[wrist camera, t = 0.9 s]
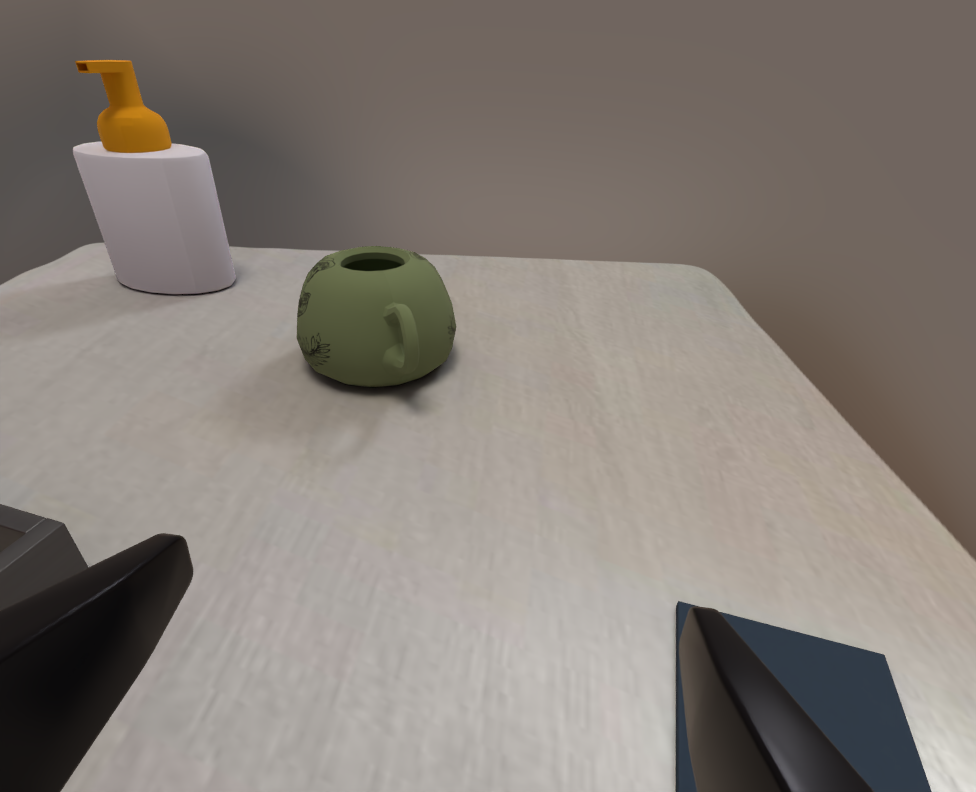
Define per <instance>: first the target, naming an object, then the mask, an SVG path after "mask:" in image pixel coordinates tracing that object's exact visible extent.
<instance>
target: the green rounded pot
mask: <svg viewBox="0 0 976 792" xmlns="http://www.w3.org/2000/svg"><path fill="white" fill-rule="evenodd" d="M455 331H456V323H455V317H454V312H453V307H452V302H451V300H450V297H449V295H448V292H447V290H446V288H445V285H444V283H443V281H442V279H441V277H440V275H439V273H438V272H437V270H436V268H435V267H434V266H433V265H432V264H431V263H430V262H429V261H428V260H427V259H425V258H424V257H422V256H420V255H418V254H417V253H415V252H411V251H407V250H403V249H399V248H391V247H381V246H371V247H359V248H353V249H347V250H342V251H339V252H336V253H333V254H330V255H327V256H325V257H324V258H323V259H322V260H320V261H319V262H318V263H317V264H316V265H315V266H314V267H313V268H312V269H311V270H310V272H309V273H308V275H307V277H306V279H305V282H304V284H303V287H302V291H301V295H300V299H299V305H298V316H297V340H298V343H299V345H300V348H301V350H302V353H303V355H304V358H305V360H306V361H307V362H308V363H309V364H310V365H311V366H312V367H313V369H314V370H315V371H316V372H318V373H321V374H323V375H325V376H328V377H330V378H333V379H335V380H337V381H340V382H342V383H345V384H348V385H356V386H365V387H381V386H392V385H400V384H403V383H406V382H409V381H412V380H415V379H418V378H421V377H423V376H424V375H426V374H428V373H429V372H431V371H432V370H433V369H435V368H436V367H438V366H439V365H441V364H442V363H444V362H445V361H446V360H447V358H448V355H449V353H450V351H451V349H452V345H453V340H454V336H455Z"/></svg>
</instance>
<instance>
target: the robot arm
mask: <svg viewBox="0 0 976 792" xmlns="http://www.w3.org/2000/svg"><path fill="white" fill-rule="evenodd" d="M192 577H193V566H192V562H191V558H190V554H189V550H188V546H187V542H186V540H185V539H184V538H183V537H182V536H180V535H173V534H165V533H162V534H157V535H155V536H153V537H151V538H149V539H147V540H145V541H143V542H141V543H138V544H136V545H134V546H132V547H130V548H128V549H126V550H124V551H122V552H120V553H118V554H116V555H114V556H112V557H110V558H107V559H105V560H103V561H101V562H99V563H97V564H95V565H93V566H91V567H89V568H87V569H85V570H83V571H81V572H79V573H76V574H74V575H72V576H70V577H68V578H66V579H64V580H62V581H60V582H58V583H56V584H54V585H52V586H50V587H47V588H45V589H43V590H41V591H39V592H37V593H35V594H33V595H31V596H29V597H27V598H25V599H23V600H21V601H18V602H16V603H14V604H12V605H10V606H8V607H6V608H4V609H2V610H0V792H60V791H61V790H62V789H63V787H64V786H65V784H66V783H67V781H68V780H69V778H70V777H71V775H72V774H73V772H74V771H75V769H76V768H77V766H78V765H79V763H80V762H81V760H82V759H83V757H84V756H85V754H86V753H87V751H88V750H89V748H90V747H91V745H92V744H93V742H94V741H95V739H96V738H97V736H98V735H99V733H100V732H101V730H102V729H103V727H104V726H105V724H106V723H107V721H108V720H109V718H110V717H111V715H112V714H113V713H114V711H115V710H116V708H117V707H118V705H119V704H120V702H121V701H122V699H123V698H124V696H125V695H126V693H127V692H128V690H129V689H130V687H131V686H132V684H133V683H134V681H135V680H136V678H137V677H138V675H139V674H140V672H141V671H142V669H143V667H144V666H145V664H146V663H147V661H148V659H149V658H150V656H151V654H152V653H153V651H154V649H155V647H156V645H157V644H158V642H159V640H160V638H161V636H162V634H163V633H164V631H165V629H166V627H167V625H168V623H169V622H170V620H171V618H172V616H173V614H174V612H175V611H176V609H177V607H178V605H179V603H180V601H181V600H182V598H183V596H184V594H185V592H186V590H187V589H188V587H189V585H190V583H191V580H192ZM679 659H680V669H681V679H682V688H683V698H684V708H685V718H686V728H687V737H688V745H689V752H690V757H691V763H692V768H693V773H694V778H695V782H696V787H697V792H874V791H873V789H872V788H871V787H870V786H869V785H868V784H867V782H866V781H865V780H864V779H863V778H862V777H861V776H860V774H859V773H858V772H857V771H856V770H855V769H854V767H853V766H852V765H851V764H850V763H849V762H848V760H847V759H846V758H845V757H844V756H843V755H842V754H841V752H840V751H839V750H838V749H837V748H836V747H835V745H834V744H833V743H832V742H831V741H830V740H829V738H828V737H827V736H826V735H825V734H824V733H823V732H822V730H821V729H820V728H819V727H818V726H817V725H816V723H815V722H814V721H813V720H812V719H811V718H810V716H809V715H808V714H807V713H806V712H805V711H804V709H803V708H802V707H801V706H800V705H799V704H798V703H797V701H796V700H795V699H794V698H793V697H792V696H791V694H790V693H789V692H788V691H787V690H786V689H785V687H784V686H783V685H782V684H781V683H780V682H779V681H778V679H777V678H776V677H775V676H774V675H773V674H772V672H771V671H770V670H769V669H768V668H767V667H766V665H765V664H764V663H763V662H762V661H761V660H760V658H759V657H758V656H757V655H756V654H755V653H754V652H753V650H752V649H751V648H750V647H749V646H748V645H747V643H746V642H745V641H744V640H743V639H742V638H741V636H740V635H739V634H738V633H737V632H736V631H735V630H734V628H733V627H732V626H731V625H730V624H729V623H728V621H727V620H726V619H725V618H724V617H723V616H722V614H721V613H720V612H718V611H717V610H715V609H712V608H705V607H698V606H693V607H691V608H690V609H689V611H688V614H687V617H686V621H685V624H684V627H683V631H682V634H681V637H680V642H679Z"/></svg>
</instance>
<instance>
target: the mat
mask: <svg viewBox="0 0 976 792" xmlns="http://www.w3.org/2000/svg"><path fill="white" fill-rule="evenodd" d="M693 606H695V605H691V604H687V603H684V602H680V601H678V603H677V606H676V792H697V787H696V782H695V778H694V773H693V768H692V763H691V757H690V752H689V745H688V737H687V728H686V718H685V708H684V698H683V688H682V679H681V669H680V659H679V642H680V637H681V634H682V631H683V627H684V624H685V621H686V617H687V614H688V611H689V609H690V608H691V607H693ZM698 607H699V606H698ZM720 613H721V614H722V616H723V617H724V618H725V619H726V620H727V621H728V623H729V624H730V625H731V626H732V627H733V628H734V630H735V631H736V632H737V633H738V634H739V635H740V636H741V638H742V639H743V640H744V641H745V642H746V643H747V645H748V646H749V647H750V648H751V649H752V650H753V652H754V653H755V654H756V655H757V656H758V657H759V658H760V660H761V661H762V662H763V663H764V664H765V665H766V667H767V668H768V669H769V670H770V671H771V672H772V674H773V675H774V676H775V677H776V678H777V679H778V681H779V682H780V683H781V684H782V685H783V686H784V687H785V689H786V690H787V691H788V692H789V693H790V694H791V696H792V697H793V698H794V699H795V700H796V701H797V703H798V704H799V705H800V706H801V707H802V708H803V709H804V711H805V712H806V713H807V714H808V715H809V716H810V718H811V719H812V720H813V721H814V722H815V723H816V725H817V726H818V727H819V728H820V729H821V730H822V732H823V733H824V734H825V735H826V736H827V737H828V738H829V740H830V741H831V742H832V743H833V744H834V745H835V747H836V748H837V749H838V750H839V751H840V752H841V754H842V755H843V756H844V757H845V758H846V759H847V760H848V762H849V763H850V764H851V765H852V766H853V767H854V769H855V770H856V771H857V772H858V773H859V774H860V776H861V777H862V778H863V779H864V780H865V781H866V782H867V784H868V785H869V786H870V787H871V788H872V789H873V791H874V792H931V789H930V786H929V783H928V780H927V777H926V775H925V772H924V769H923V766H922V763H921V760H920V757H919V754H918V751H917V748H916V745H915V743H914V740H913V737H912V734H911V731H910V728H909V725H908V722H907V719H906V716H905V713H904V711H903V708H902V705H901V702H900V699H899V696H898V693H897V690H896V687H895V684H894V681H893V679H892V676H891V673H890V670H889V667H888V664H887V661H886V658H885V655H883V654H879V653H876V652H872V651H868V650H864V649H860V648H856V647H853V646H849V645H845V644H841V643H837V642H833V641H830V640H826V639H822V638H818V637H814V636H810V635H806V634H803V633H799V632H795V631H791V630H787V629H783V628H780V627H776V626H772V625H768V624H764V623H760V622H757V621H753V620H749V619H745V618H741V617H737V616H733V615H730V614H726V613H722V612H720Z"/></svg>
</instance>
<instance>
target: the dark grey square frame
mask: <svg viewBox="0 0 976 792" xmlns="http://www.w3.org/2000/svg"><path fill="white" fill-rule="evenodd" d="M87 568H88V566H87V564H86V562H85V560H84V559H83V557H82V555H81V553H80V551H79V549H78V548H77V546H76V544H75V542H74V540H73V539H72V537H71V535H70V533H69V531H68V530H67V528H66V526H65V524H64V523H62V522H59V521H55V520H52V519H49V518H47V519H46V518H44V517H41V516H38V515H35V514H31V513H28V512H25V511H21V510H18V509H15V508H11V507H8V506H5V505H2V504H0V610H2V609H4V608H6V607H8V606H10V605H12V604H14V603H16V602H18V601H21V600H23V599H25V598H27V597H29V596H31V595H33V594H35V593H37V592H39V591H41V590H43V589H45V588H47V587H50V586H52V585H54V584H56V583H58V582H60V581H62V580H64V579H66V578H68V577H70V576H72V575H74V574H76V573H79V572H81V571H83V570H85V569H87Z"/></svg>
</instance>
